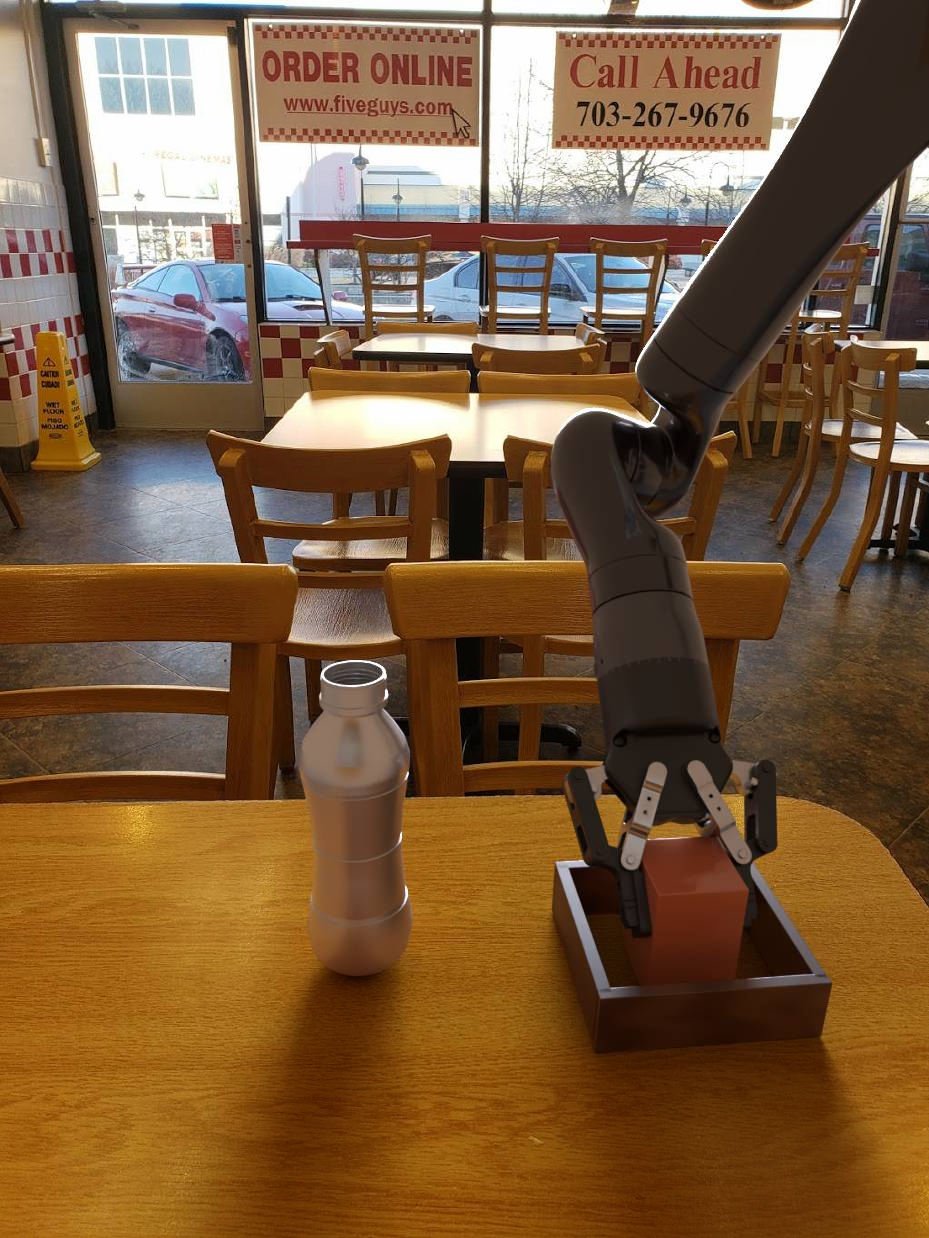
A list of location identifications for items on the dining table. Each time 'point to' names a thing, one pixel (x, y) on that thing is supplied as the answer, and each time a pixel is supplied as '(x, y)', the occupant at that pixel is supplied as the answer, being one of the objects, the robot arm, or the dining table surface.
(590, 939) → the dark brown wooden tray
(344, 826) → the plastic bottle
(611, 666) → the robot arm
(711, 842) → the red rectangular block
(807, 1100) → the dining table surface
